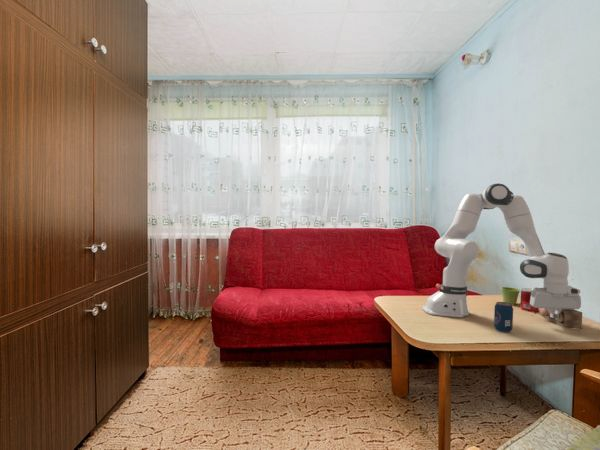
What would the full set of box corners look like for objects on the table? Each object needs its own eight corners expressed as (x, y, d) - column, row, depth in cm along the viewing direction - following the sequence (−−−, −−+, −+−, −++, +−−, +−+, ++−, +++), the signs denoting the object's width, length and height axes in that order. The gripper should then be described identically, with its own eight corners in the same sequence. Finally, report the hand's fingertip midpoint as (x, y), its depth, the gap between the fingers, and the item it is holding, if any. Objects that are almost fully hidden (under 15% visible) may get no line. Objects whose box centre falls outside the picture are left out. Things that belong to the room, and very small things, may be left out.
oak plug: (561, 323, 142) (561, 313, 142) (554, 319, 147) (555, 310, 147) (581, 324, 142) (581, 314, 141) (573, 320, 146) (574, 311, 146)
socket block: (565, 328, 141) (565, 311, 141) (543, 317, 155) (544, 303, 155) (581, 328, 140) (582, 312, 140) (558, 318, 154) (559, 303, 154)
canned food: (541, 312, 163) (542, 292, 163) (524, 311, 165) (525, 291, 165) (533, 308, 171) (534, 288, 170) (517, 307, 172) (518, 287, 172)
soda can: (490, 326, 142) (491, 301, 141) (506, 327, 141) (507, 301, 141) (498, 332, 135) (499, 305, 134) (515, 333, 134) (516, 306, 134)
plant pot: (500, 300, 186) (501, 286, 185) (519, 303, 180) (520, 288, 180) (499, 304, 178) (500, 289, 178) (519, 307, 173) (520, 291, 172)
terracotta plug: (545, 317, 150) (545, 308, 149) (539, 314, 154) (539, 306, 154) (564, 318, 149) (564, 309, 149) (557, 315, 153) (558, 306, 153)
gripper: (536, 289, 142) (534, 318, 143) (584, 290, 140) (583, 320, 141) (527, 285, 148) (526, 314, 149) (573, 287, 146) (572, 316, 147)
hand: (554, 317), depth 145 cm, fingers closed
